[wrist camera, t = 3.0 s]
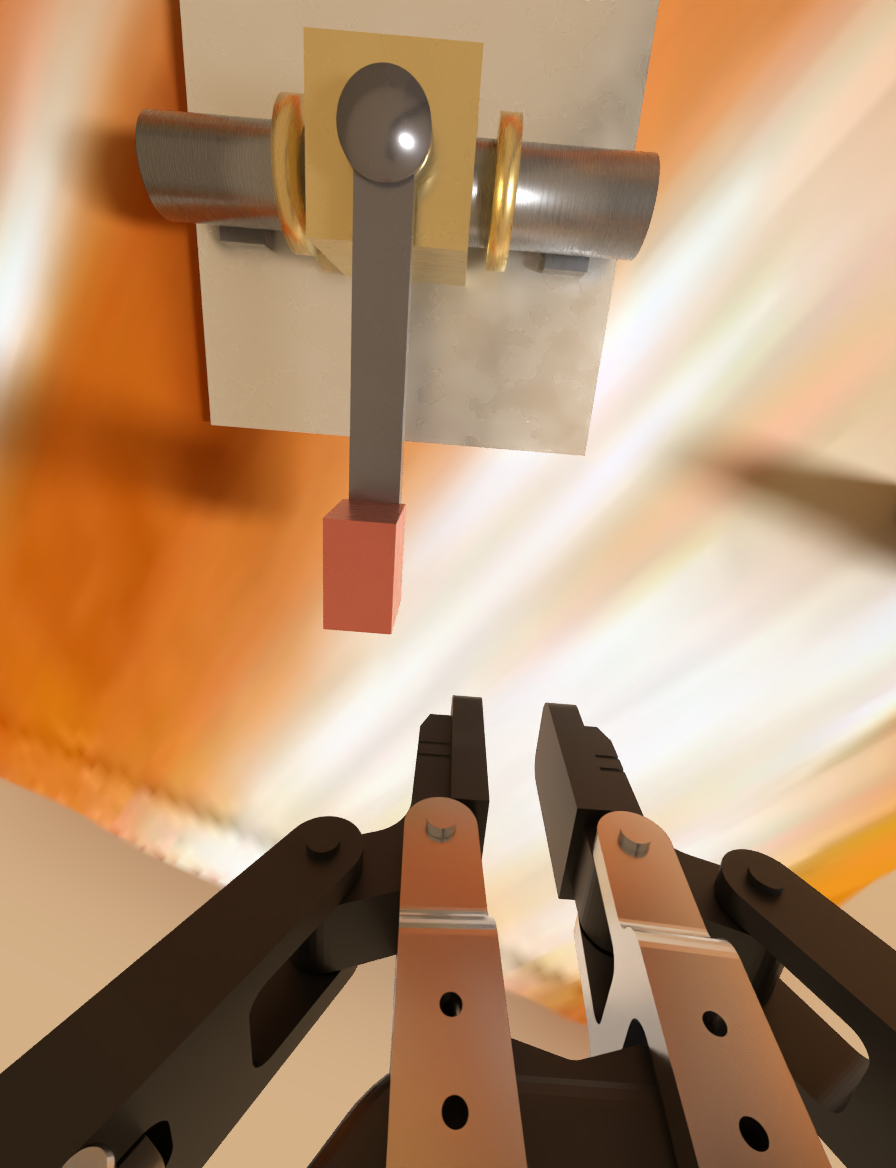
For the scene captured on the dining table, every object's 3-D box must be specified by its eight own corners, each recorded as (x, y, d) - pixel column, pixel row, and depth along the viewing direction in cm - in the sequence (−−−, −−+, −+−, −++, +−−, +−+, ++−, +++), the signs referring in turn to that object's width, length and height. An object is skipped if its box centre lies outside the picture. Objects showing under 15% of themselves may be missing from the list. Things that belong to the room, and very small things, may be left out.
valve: (654, -4, 27) (751, -199, 18) (580, 453, 35) (622, 475, 26) (186, -46, 27) (49, -264, 18) (219, 423, 35) (135, 435, 26)
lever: (345, 81, 21) (311, -10, 16) (436, 90, 21) (429, 0, 16) (340, 587, 28) (316, 628, 23) (408, 593, 28) (397, 634, 23)
